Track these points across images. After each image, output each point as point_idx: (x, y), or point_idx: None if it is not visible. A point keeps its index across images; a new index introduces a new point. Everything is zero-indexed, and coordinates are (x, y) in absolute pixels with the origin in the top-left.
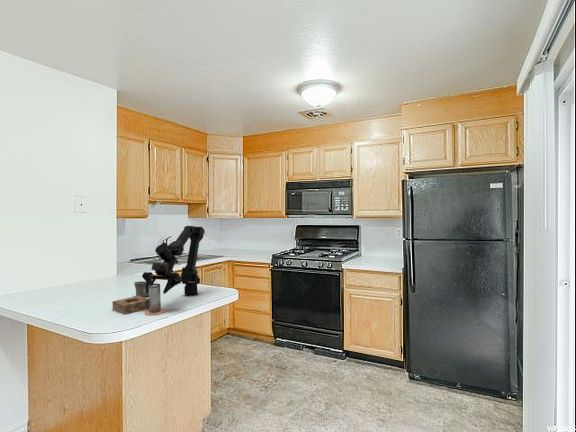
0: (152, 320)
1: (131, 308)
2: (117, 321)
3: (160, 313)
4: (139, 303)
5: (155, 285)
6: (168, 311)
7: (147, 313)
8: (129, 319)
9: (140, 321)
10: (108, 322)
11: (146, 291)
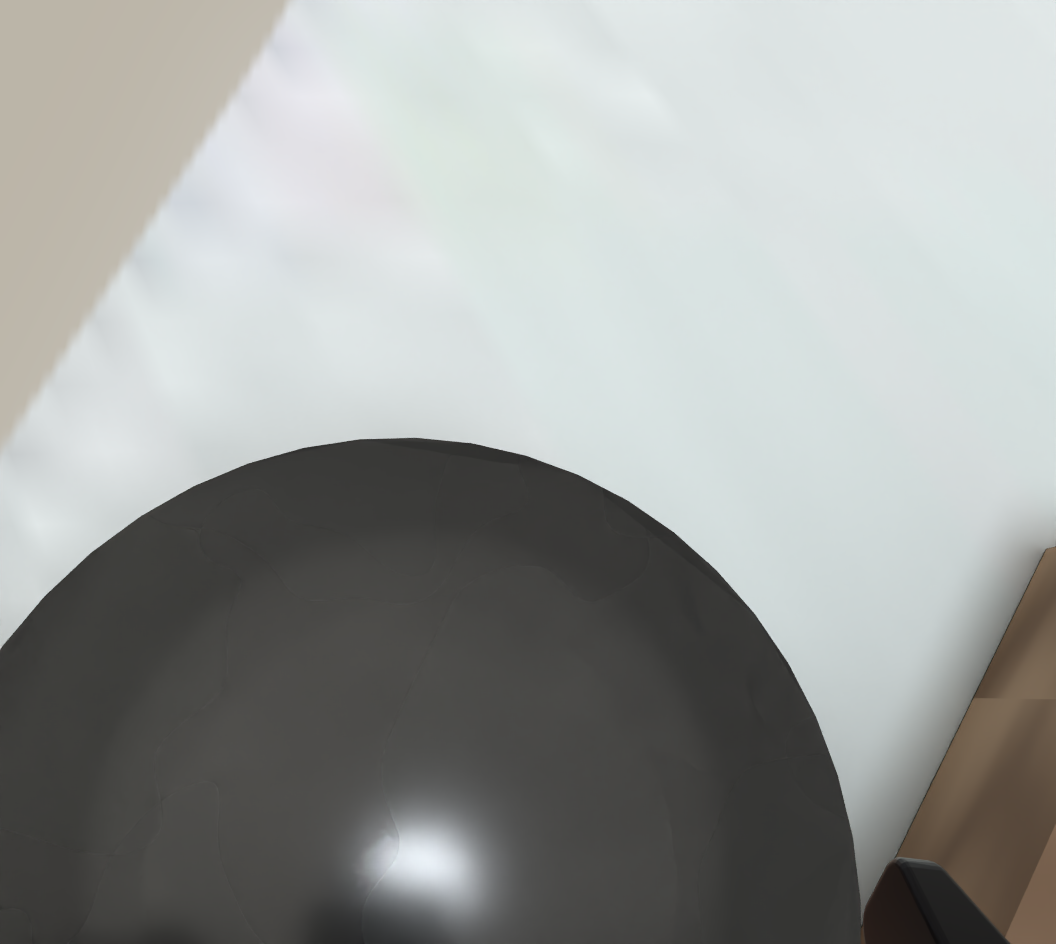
0: (234, 189)
1: (1050, 667)
2: (885, 131)
3: None
4: (1007, 881)
5: (147, 575)
6: None
7: None
8: (734, 238)
9: (447, 134)
10: (1008, 82)
11: (909, 882)
